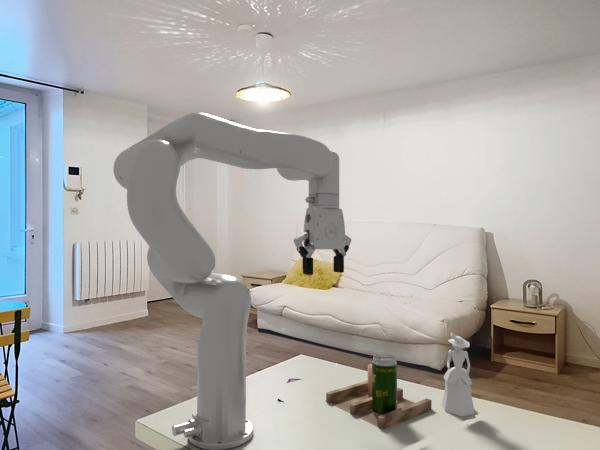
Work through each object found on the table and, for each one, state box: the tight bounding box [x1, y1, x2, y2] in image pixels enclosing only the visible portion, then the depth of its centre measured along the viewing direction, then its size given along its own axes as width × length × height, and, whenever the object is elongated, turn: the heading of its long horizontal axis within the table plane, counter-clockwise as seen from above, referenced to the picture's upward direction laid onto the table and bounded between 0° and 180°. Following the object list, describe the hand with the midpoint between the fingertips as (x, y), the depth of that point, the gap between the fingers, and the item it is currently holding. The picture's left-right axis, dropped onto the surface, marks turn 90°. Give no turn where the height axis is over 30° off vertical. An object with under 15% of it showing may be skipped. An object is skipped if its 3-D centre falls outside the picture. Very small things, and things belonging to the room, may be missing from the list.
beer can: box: [371, 354, 398, 416], centre depth 92 cm, size 5×5×12 cm
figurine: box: [440, 332, 476, 422], centre depth 95 cm, size 7×8×18 cm
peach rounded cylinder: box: [367, 363, 372, 397], centre depth 102 cm, size 4×4×7 cm
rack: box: [325, 380, 433, 431], centre depth 97 cm, size 16×18×3 cm
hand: (323, 273), depth 103 cm, fingers open, 9 cm apart
